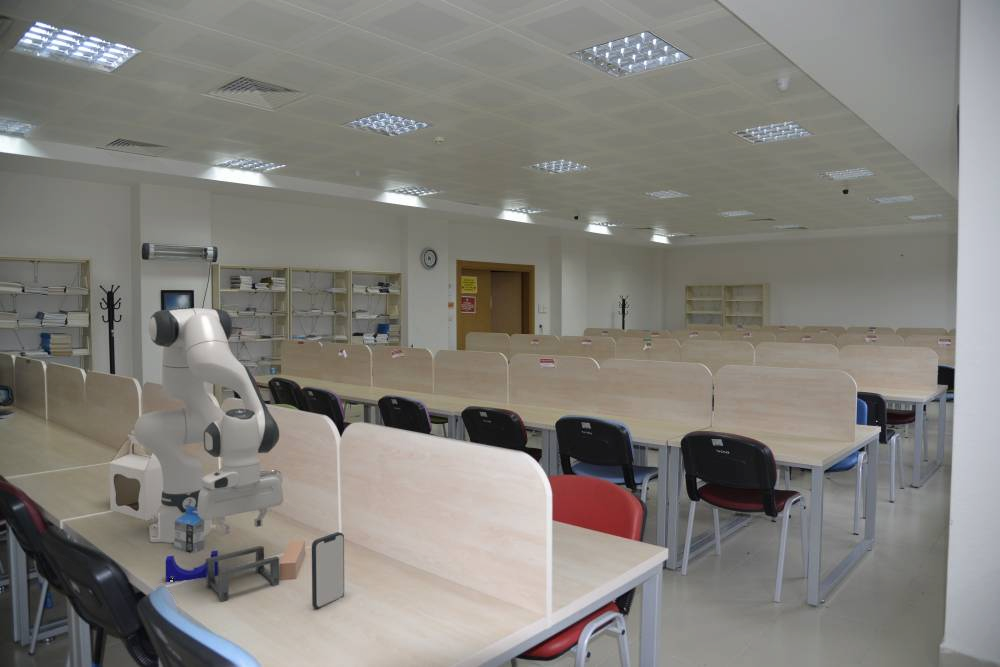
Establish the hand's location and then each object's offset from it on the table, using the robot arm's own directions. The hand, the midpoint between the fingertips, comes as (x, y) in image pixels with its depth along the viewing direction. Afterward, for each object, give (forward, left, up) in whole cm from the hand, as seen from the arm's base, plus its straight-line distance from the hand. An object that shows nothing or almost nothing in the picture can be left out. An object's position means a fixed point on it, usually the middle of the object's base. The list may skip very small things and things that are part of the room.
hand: (242, 529), depth 161 cm
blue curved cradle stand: (-15, -8, -15) cm, 22 cm away
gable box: (-82, -4, -15) cm, 84 cm away
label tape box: (-35, -3, -15) cm, 38 cm away
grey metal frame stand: (0, 0, -14) cm, 14 cm away
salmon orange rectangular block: (-2, +14, -15) cm, 20 cm away
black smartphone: (+23, +12, -15) cm, 30 cm away
